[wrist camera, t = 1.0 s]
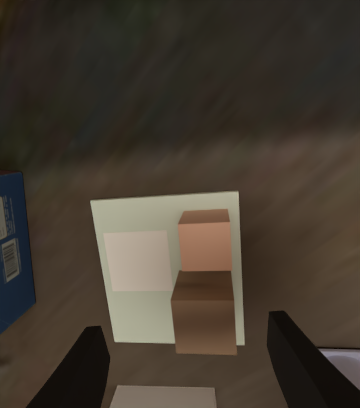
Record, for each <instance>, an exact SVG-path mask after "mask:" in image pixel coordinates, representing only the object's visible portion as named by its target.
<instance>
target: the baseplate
mask: <svg viewBox="0 0 360 408" xmlns="http://www.w3.org/2000/svg"><path fill="white" fill-rule="evenodd" d="M90 202H91V208H92V214H93V219H94V225H95V231H96V237H97V243H98V248H99V254H100V260H101V266H102V271H103V277H104V283H105V289H106V295H107V300H108V306H109V312H110V318H111V323H112V329H113V335H114V341H115V342H139V343H175V337H174V328H173V319H172V310H171V301H170V300H171V297H172V293H173V290H174V286H175V283H176V279H177V276H178V273H179V270H182V264H181V254H180V243H179V233H178V223H179V220H180V218H181V216H182V214H183V212H184V211H193V210H212V209H228V213H229V219H230V233H231V254H232V271H231V276H232V285H233V294H234V305H235V326H236V345H245V342H244V318H243V293H242V268H241V244H240V219H239V194H238V190H236V191H220V192H204V193H188V194H173V195H157V196H141V197H125V198H109V199H94V200H91V201H90Z"/></svg>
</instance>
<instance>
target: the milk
mask: <svg viewBox="0 0 360 408" xmlns="http://www.w3.org/2000/svg"><path fill="white" fill-rule="evenodd" d="M110 408H217V406H216V397H215V389H214V388H208V387H165V386H121V385H117V388H116V391H115V394H114V396H113V399H112V402H111V405H110Z"/></svg>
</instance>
